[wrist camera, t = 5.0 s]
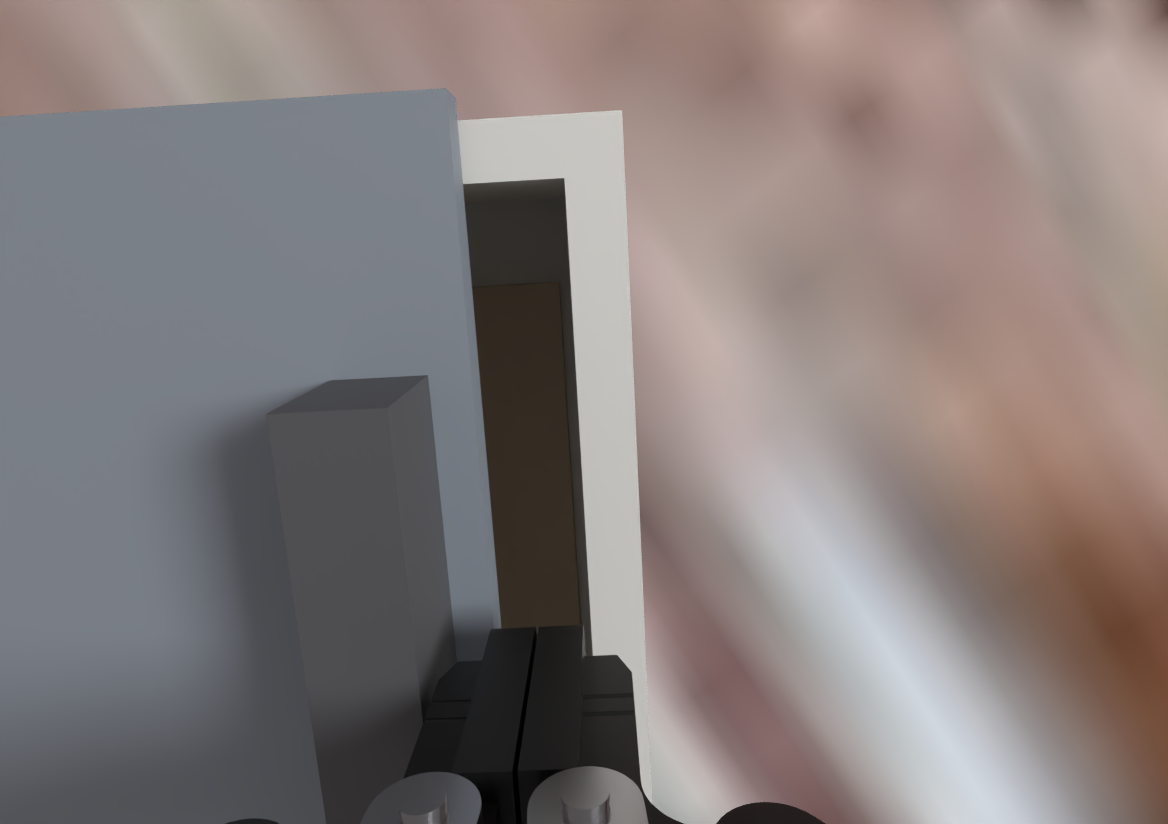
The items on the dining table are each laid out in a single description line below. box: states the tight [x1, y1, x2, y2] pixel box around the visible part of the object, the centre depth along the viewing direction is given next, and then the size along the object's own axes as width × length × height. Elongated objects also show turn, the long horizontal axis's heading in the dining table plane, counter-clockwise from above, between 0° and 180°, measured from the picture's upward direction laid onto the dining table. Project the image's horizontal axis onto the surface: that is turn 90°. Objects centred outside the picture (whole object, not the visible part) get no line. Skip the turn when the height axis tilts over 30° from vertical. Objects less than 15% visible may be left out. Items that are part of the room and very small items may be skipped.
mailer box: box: [458, 110, 652, 803], centre depth 18 cm, size 20×18×7 cm
